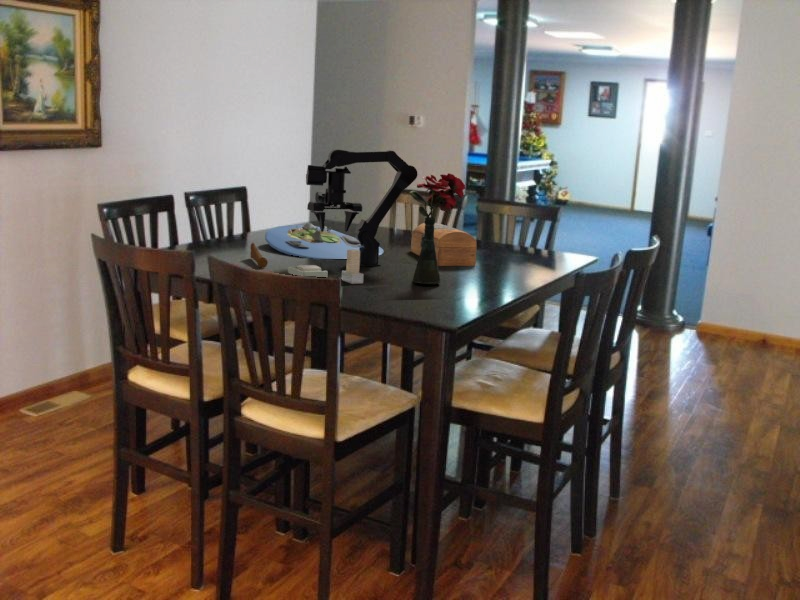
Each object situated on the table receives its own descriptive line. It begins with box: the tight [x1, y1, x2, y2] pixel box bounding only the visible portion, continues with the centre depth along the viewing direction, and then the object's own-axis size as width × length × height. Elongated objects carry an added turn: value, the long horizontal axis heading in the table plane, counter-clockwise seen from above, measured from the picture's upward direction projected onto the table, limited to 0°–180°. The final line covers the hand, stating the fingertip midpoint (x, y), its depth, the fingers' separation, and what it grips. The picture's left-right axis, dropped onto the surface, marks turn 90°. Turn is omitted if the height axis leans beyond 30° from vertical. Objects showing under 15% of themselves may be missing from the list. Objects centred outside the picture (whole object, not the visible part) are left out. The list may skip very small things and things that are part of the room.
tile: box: [297, 264, 322, 272], centre depth 264 cm, size 6×6×3 cm
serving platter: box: [264, 222, 385, 260], centre depth 314 cm, size 45×43×12 cm
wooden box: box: [410, 222, 478, 267], centre depth 309 cm, size 30×16×14 cm, turn 18°
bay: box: [287, 265, 329, 278], centre depth 264 cm, size 9×11×2 cm
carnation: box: [408, 173, 466, 286], centre depth 262 cm, size 16×18×35 cm
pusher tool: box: [341, 249, 364, 285], centre depth 256 cm, size 4×7×10 cm, turn 31°
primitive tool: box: [250, 242, 269, 269], centre depth 279 cm, size 19×6×4 cm
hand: (334, 231), depth 283 cm, fingers open, 9 cm apart
